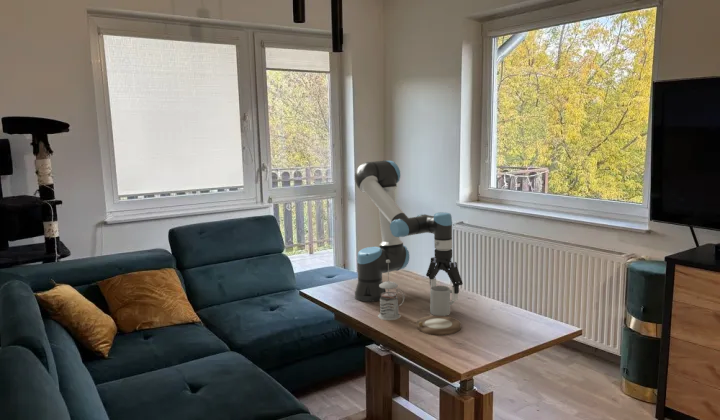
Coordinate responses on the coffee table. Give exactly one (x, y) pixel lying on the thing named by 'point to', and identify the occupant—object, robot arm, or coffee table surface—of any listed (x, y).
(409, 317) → the coffee table surface
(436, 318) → the ring
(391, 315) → the french press
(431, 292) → the mug
